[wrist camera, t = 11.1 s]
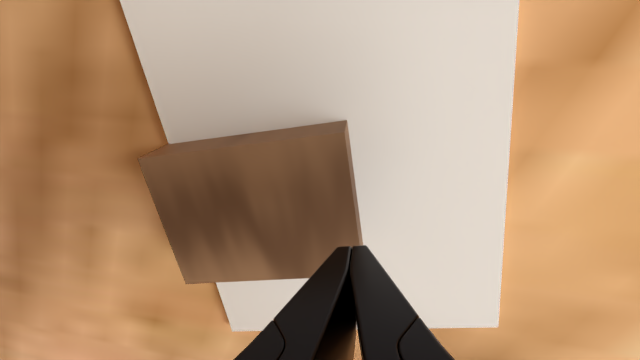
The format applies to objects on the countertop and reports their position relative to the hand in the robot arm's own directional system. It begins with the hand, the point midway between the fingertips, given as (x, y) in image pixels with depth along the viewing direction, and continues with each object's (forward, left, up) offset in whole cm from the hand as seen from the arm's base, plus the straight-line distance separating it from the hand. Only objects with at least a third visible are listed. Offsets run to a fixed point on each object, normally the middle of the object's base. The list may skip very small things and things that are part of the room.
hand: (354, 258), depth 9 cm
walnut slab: (0, 0, -4) cm, 4 cm away
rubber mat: (+1, +1, -6) cm, 6 cm away
